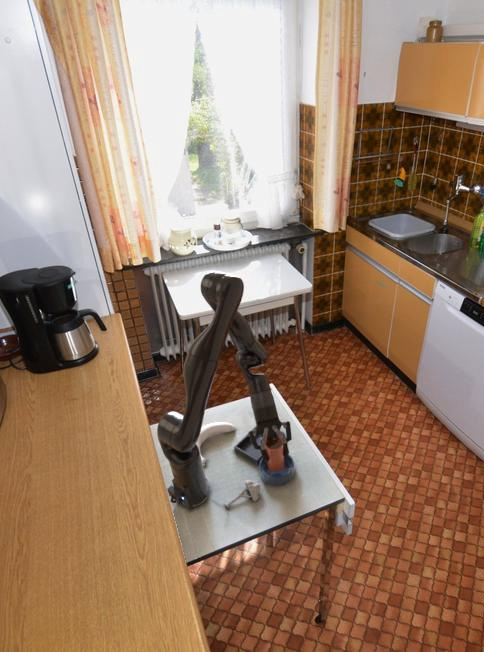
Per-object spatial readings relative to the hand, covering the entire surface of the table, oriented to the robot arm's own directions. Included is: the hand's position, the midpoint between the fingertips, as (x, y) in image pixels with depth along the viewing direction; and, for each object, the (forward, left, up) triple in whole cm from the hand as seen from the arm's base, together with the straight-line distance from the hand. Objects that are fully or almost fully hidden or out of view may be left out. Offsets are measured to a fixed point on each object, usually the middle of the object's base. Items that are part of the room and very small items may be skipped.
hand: (276, 458), depth 138 cm
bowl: (+1, +1, -9) cm, 9 cm away
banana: (-2, +27, -9) cm, 29 cm away
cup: (+1, +1, -4) cm, 5 cm away
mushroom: (-13, +4, -9) cm, 16 cm away
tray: (+7, +14, -9) cm, 18 cm away
